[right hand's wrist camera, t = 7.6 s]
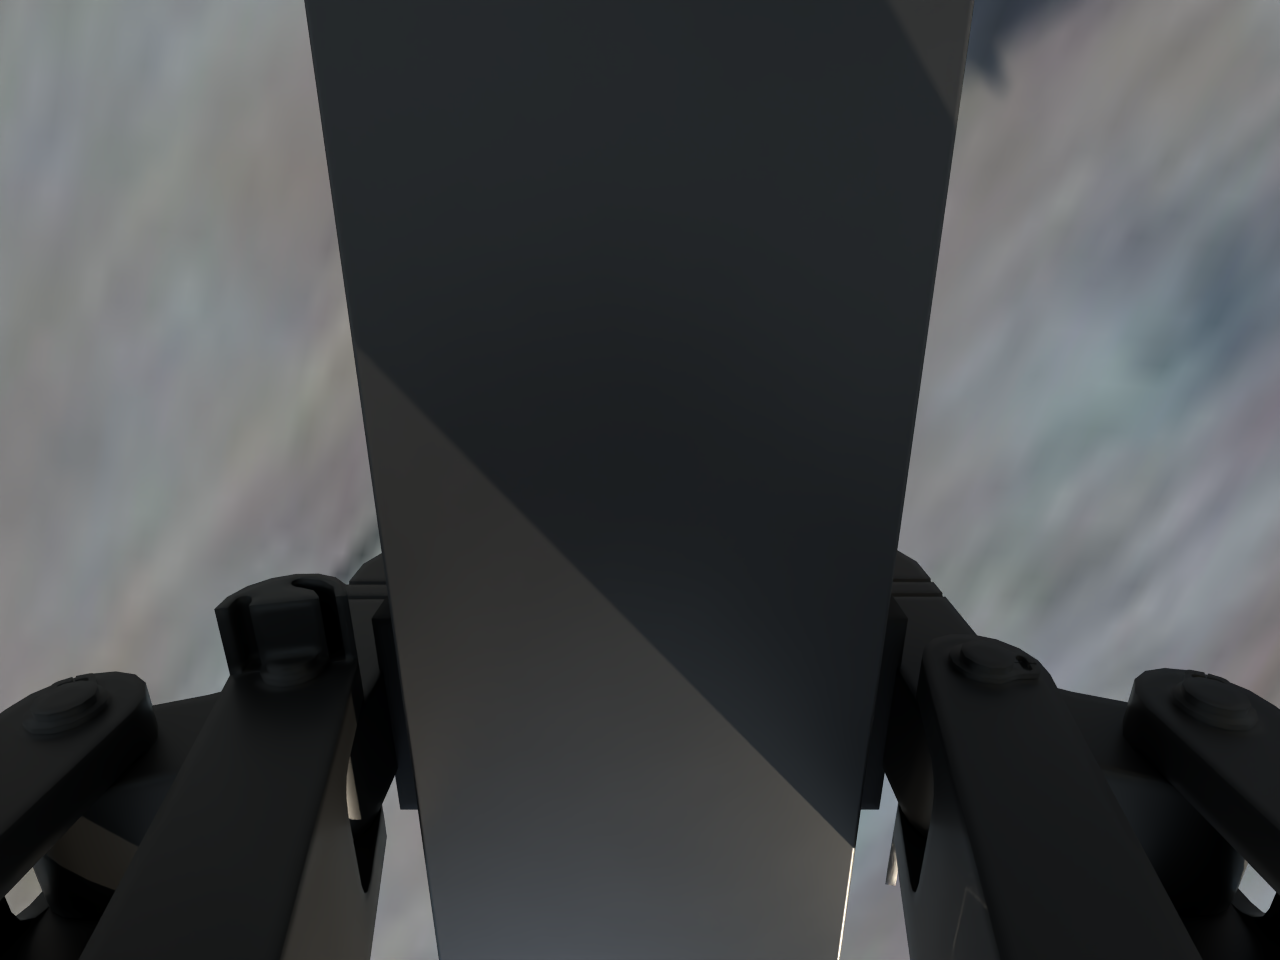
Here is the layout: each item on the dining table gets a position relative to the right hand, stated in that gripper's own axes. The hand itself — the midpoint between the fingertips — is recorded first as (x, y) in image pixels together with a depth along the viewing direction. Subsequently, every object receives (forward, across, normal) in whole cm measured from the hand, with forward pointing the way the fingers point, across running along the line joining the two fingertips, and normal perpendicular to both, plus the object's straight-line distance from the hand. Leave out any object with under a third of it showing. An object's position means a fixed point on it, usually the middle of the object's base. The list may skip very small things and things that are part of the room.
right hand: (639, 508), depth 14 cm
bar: (+1, 0, -13) cm, 13 cm away
